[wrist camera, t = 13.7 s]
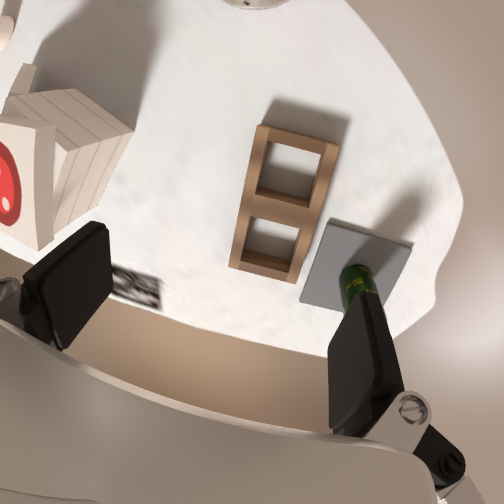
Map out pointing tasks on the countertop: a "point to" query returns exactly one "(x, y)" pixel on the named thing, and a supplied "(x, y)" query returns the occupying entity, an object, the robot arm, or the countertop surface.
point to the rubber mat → (346, 253)
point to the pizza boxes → (53, 158)
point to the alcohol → (6, 30)
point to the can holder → (280, 205)
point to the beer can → (355, 283)
